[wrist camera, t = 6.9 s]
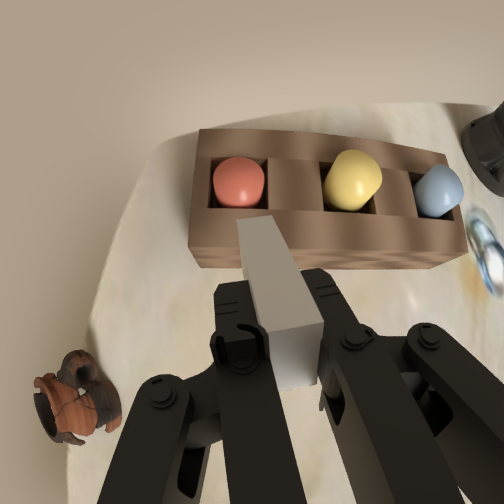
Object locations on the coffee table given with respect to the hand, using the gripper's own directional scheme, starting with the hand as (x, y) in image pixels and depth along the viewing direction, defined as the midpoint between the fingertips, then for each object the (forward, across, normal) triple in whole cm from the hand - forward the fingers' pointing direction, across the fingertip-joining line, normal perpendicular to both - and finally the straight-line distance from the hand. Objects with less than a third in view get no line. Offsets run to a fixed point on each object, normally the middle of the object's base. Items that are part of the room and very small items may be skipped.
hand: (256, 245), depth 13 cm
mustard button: (+14, +10, -3) cm, 18 cm away
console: (+19, +10, -8) cm, 23 cm away
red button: (+17, 0, -4) cm, 17 cm away
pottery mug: (+7, -20, -20) cm, 29 cm away
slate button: (+13, +20, -5) cm, 24 cm away
